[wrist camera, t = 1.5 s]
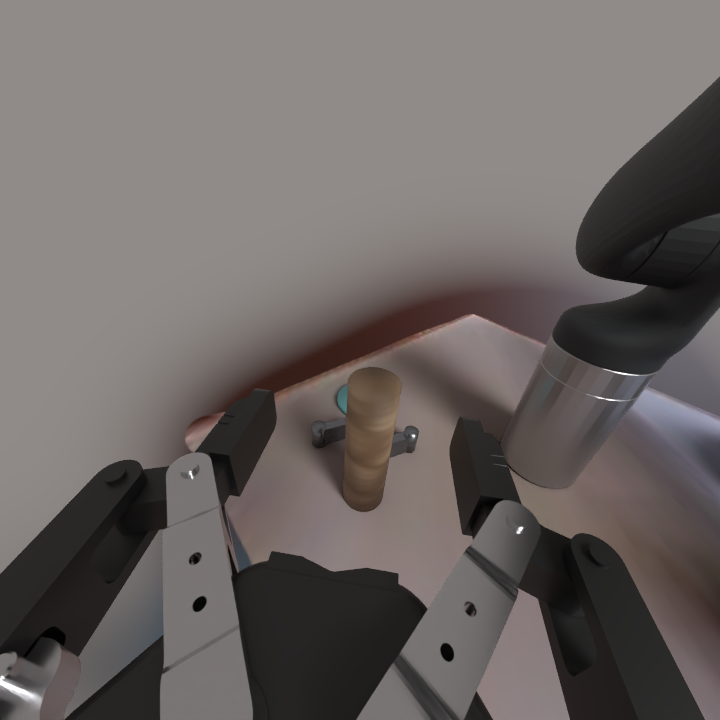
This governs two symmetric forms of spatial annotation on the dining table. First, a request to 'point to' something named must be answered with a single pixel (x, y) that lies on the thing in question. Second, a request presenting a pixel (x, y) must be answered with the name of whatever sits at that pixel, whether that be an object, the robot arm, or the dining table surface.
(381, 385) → the walnut peg
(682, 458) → the dining table surface
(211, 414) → the dining table surface
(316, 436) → the zigzag rail
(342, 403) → the teal pad
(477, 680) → the robot arm
